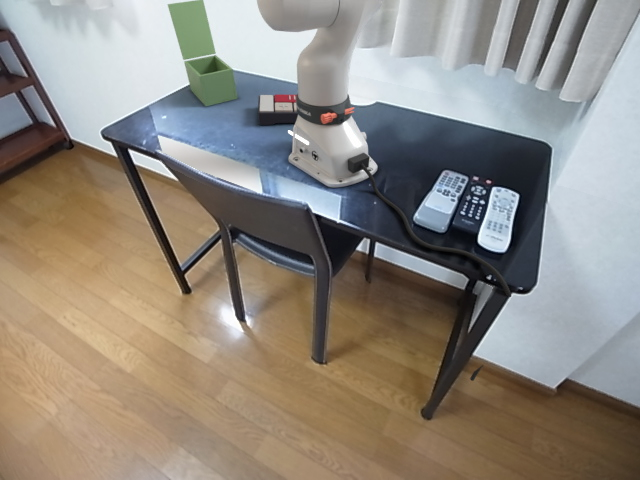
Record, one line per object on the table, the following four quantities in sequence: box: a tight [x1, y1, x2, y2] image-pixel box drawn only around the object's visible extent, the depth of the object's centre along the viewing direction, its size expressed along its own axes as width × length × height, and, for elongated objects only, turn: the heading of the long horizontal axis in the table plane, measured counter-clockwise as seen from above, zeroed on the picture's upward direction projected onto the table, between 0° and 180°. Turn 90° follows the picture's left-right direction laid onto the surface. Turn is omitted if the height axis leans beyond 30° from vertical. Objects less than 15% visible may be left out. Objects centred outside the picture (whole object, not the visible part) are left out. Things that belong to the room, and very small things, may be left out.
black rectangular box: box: [257, 94, 298, 126], centre depth 105 cm, size 11×4×15 cm
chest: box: [183, 54, 238, 107], centre depth 113 cm, size 14×10×9 cm
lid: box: [167, 0, 217, 61], centre depth 110 cm, size 14×10×1 cm
